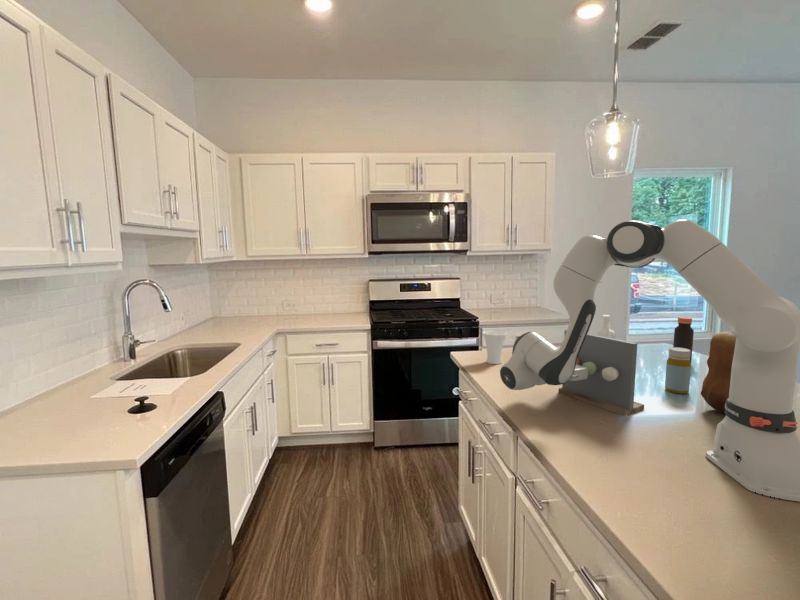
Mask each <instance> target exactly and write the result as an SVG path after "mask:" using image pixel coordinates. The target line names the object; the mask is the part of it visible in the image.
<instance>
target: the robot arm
mask: <svg viewBox="0 0 800 600" xmlns="http://www.w3.org/2000/svg"><path fill="white" fill-rule="evenodd" d="M656 259H659V260H662V261H665V262H666V263H667V264H668V265H669V266H671V267H672V268H673V269H674V270H675V272H676V273H678V274H679V275H680V276H681V277H682V278H683V279H684V280H685V281H686V282H687V283H688V285H690V287H692V289H694V291H695V292H697V293H698V294H699V295H700V296H701V297H702V298H703V299H704V300H705V302H706V303H707V304H708V305H709V307H710V308H711V309H712V310H713V311H714V313H715V314H716V315H717V316H718V318H719V319H720V320H721V322H722V323H724V325H725V326H726V327H727V328H728V329H729V331H730V332H733V334H734V335H735V336H736V343H735V350H734V356H733V362H732V368H731V379H730V390H729V398H727V399H726V403H725V413H724V414H725V416H724V418H723V419H722V420H721V421H720V422H718V424H716V429H715V435H714V439H713V443H712V444H713V447H712V449H711V450H707V451H706V453H705V457H706V458H707V459H708V460H709V461H711V462H712V463H713V464H715V465H716V466H717V467H719V469H721V470H722V471H723V472H725V473H726V474H727V475H728V476H730V477H731V478H732V479H733V480H735V481H736V482H737V483H739V484H740V485H741V486H742V487H744V488H745V489H747V490H748V491H750V492H752V493H755V492H756V494H759V495H762V494H763V495H762V496H766V497H770V496H771V497H770V498H774V497H775V499H779V498H780V499H781V500H787V501H793V502H800V438H799V436H798V434H797V429H798V426H797V425H798V424H799V423H798V422H797V418H796V415H795V411H794V410H793V406H794V397H795V388H796V387H795V386H796V381H797V371H798V370H797V369H798V360H799V351H800V350H799V349H800V309H799V307H797V305H796V304H795V303H793V302H792V301H791V300H789V299H787V298H785V297H781V296H779V295H778V294H777V293H776V292H775V291H774V290H772V289H771V287H770V286H769V285H768V284H767V283H766V282H764V280H763V279H762V278H760V276H758V274H757V273H756V272H755V271H754V270H753V269H752V268H751V267H750V266H749V265H748V264H747V263H746V262H745V261H743V259H742V258H740V257H739V256H738V255H737V254H735V252H733V250H731V249H730V248H729V247H728V246H727V245H726V244H725V243H724V242H723V241H721V240H720V239H719V238H718V237H717V236H715V235H714V234H712V233H711V232H710V231H708V230H707V229H706V228H704V227H703V226H701V225H700V224H697V223H696V222H694V221H693V220H690V219H687V218H680V219H677V220H674V221H671V222H670V223H668V224H667V225H665V226H664V227H661V226H659V225H657V224H653V223H648V222H644V221H640V220H626V221H622V222H620V223H618V224H616V225H615V226H614V227H613V228H612V229H611V230H610V231H609V233H608V236H607V237H601V236H598V235H595V234H588V235H587V234H586V235H583V236H582V237H581V238H580V239H578V241H576V243H575V244H574V245H573V246H572V248H571V249H570V250H569V252H568V253H567V254H566V257H565V258H564V259H563V261H562V263H561V265H560V266H559V267H558V269H557V271H556V274H555V276H554V277H553V278H554V279H553V288H554V289H553V290H554V293H555V294H556V296H557V298H558V300H559V301H560V303H561V304H562V306H563V307H564V308H565V310H566V312H567V315H568V317H569V323H568V327H567V329H566V330H567V332H566V334H565V333H564V334H565V336H564V337H563V338H562V339H563V340H562V341H561V344H560V347H557V346H556V345H555V344H554V343H551V341H550V340H549V339H547V338H545V337H544V336H542V335H541V334H539V333H538V332H537V331H528V332H525V333H523V334H521V335H519V336H518V337H517V338H516V340H515V341H514V343H513V346H512V352H511V356H510V358H509V359H508V361H506V362H505V363H504V364H503V365H502V366H501V367H500V370H499V374H500V375H499V376H500V379H501V382H502V383H503V384H504V385H505V386H506V388H507V389H509V390H511V391H521V390H522V391H523V390H527V389H531V388H533V387H535V386H543V385H548V386H560V385H561V386H562V384H565V383H566V382H567V381H578V380H584V379H587V377H588V368H587V367H584V366H580V365H577V364H576V361H577V358H578V355H579V353H580V350H581V348H582V345H583V343H584V341H585V338H586V336H587V333H588V334H589V331H590V328H591V326H592V323H593V320H594V318H595V315H596V309H597V305H596V304H595V299H594V298H595V292H596V289H597V286H598V284H599V282H600V281H601V279H602V278H603V276H604V274H605V272H606V271H607V270H609V268H610V267H612V266H618V267H619V266H620V267H626V268H631V269H637V268H643V267H646V266H648V265H650V264H651V263H653V262H654V261H655V260H656Z"/></svg>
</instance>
